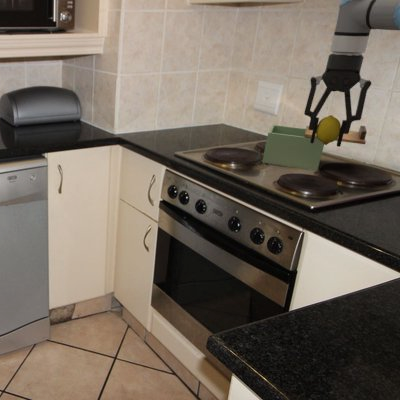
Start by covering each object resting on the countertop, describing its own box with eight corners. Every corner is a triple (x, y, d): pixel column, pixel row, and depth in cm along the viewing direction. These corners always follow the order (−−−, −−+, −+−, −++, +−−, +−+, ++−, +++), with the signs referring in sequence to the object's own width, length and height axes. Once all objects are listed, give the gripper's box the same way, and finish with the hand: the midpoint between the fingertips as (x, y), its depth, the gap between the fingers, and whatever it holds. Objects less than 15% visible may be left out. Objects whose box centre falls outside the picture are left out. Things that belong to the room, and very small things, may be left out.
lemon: (337, 148, 124) (343, 117, 122) (312, 145, 127) (318, 116, 124) (337, 143, 129) (343, 114, 126) (314, 141, 132) (319, 112, 129)
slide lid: (362, 134, 147) (365, 124, 146) (365, 144, 137) (368, 133, 136) (305, 128, 154) (308, 118, 153) (304, 136, 144) (306, 126, 143)
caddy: (318, 160, 156) (325, 131, 152) (317, 171, 145) (325, 140, 142) (266, 152, 162) (272, 124, 159) (262, 162, 152) (268, 132, 149)
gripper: (389, 54, 118) (364, 145, 127) (305, 50, 127) (287, 136, 135) (392, 56, 112) (366, 152, 121) (304, 52, 120) (285, 142, 129)
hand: (325, 143), depth 128 cm, fingers closed on lemon, 5 cm apart
